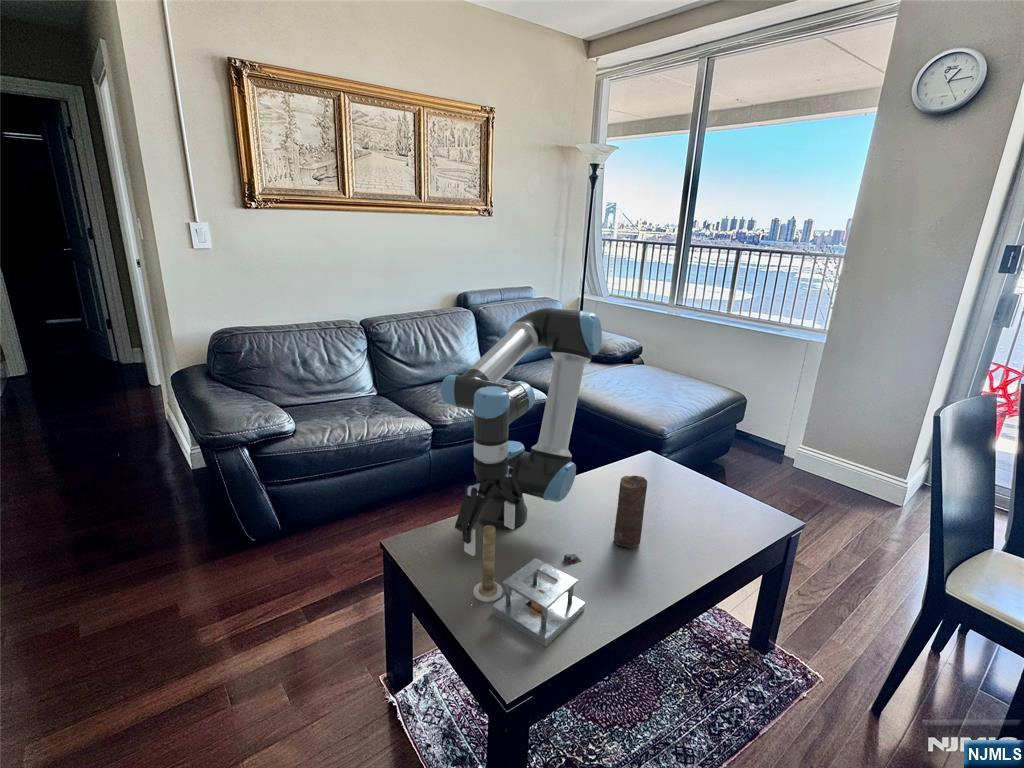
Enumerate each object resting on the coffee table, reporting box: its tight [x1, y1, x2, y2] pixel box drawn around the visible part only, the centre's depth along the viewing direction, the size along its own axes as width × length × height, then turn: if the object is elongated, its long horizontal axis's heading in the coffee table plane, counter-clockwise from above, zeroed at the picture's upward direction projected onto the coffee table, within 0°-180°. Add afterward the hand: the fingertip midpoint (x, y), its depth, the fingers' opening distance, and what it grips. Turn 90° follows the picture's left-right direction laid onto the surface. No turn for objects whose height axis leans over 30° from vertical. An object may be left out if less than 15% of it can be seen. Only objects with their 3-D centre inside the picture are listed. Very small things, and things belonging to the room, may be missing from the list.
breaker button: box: [530, 590, 545, 614], centre depth 118 cm, size 4×4×4 cm
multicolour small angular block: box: [563, 553, 582, 565], centre depth 137 cm, size 4×3×2 cm
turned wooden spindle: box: [479, 525, 497, 597], centre depth 122 cm, size 4×4×17 cm
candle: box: [613, 475, 648, 549], centre depth 143 cm, size 8×7×20 cm
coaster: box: [472, 581, 504, 603], centre depth 124 cm, size 7×7×1 cm
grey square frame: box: [491, 557, 586, 648], centre depth 118 cm, size 15×15×8 cm
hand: (490, 539), depth 121 cm, fingers open, 13 cm apart
